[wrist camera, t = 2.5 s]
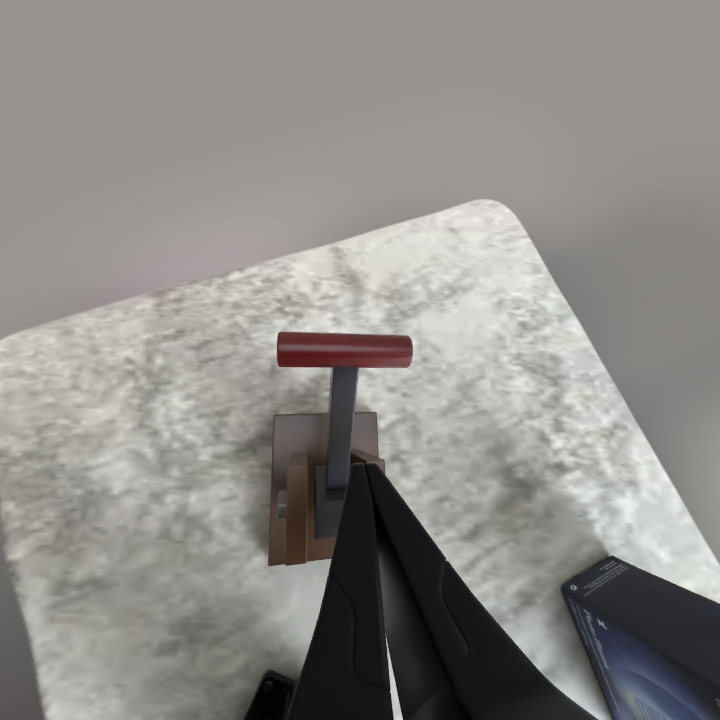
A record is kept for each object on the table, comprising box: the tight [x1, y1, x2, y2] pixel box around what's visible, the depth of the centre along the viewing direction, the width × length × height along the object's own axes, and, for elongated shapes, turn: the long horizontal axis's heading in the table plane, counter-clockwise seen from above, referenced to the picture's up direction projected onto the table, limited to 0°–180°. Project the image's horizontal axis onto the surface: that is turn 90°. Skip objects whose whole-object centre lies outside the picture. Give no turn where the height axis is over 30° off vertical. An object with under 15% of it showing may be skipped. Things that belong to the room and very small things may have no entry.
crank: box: [277, 332, 413, 539], centre depth 14 cm, size 11×6×2 cm
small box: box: [562, 556, 720, 720], centre depth 18 cm, size 11×6×10 cm, turn 19°
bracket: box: [268, 412, 385, 566], centre depth 18 cm, size 10×8×8 cm
